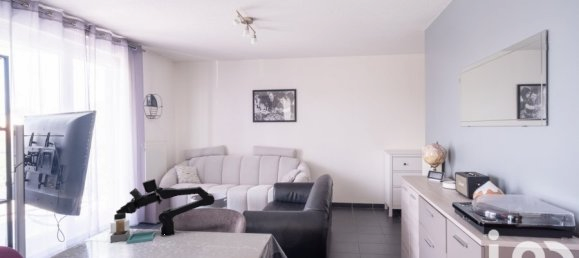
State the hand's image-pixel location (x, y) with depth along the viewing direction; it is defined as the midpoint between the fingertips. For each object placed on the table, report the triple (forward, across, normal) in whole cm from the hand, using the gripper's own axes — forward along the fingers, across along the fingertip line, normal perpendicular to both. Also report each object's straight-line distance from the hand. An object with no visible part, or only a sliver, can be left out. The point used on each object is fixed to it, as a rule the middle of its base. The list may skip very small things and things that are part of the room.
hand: (118, 210), depth 159 cm
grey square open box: (+4, +2, +16) cm, 17 cm away
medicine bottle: (+7, -14, +15) cm, 22 cm away
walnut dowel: (+3, +2, +15) cm, 16 cm away
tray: (-7, +5, +19) cm, 21 cm away
